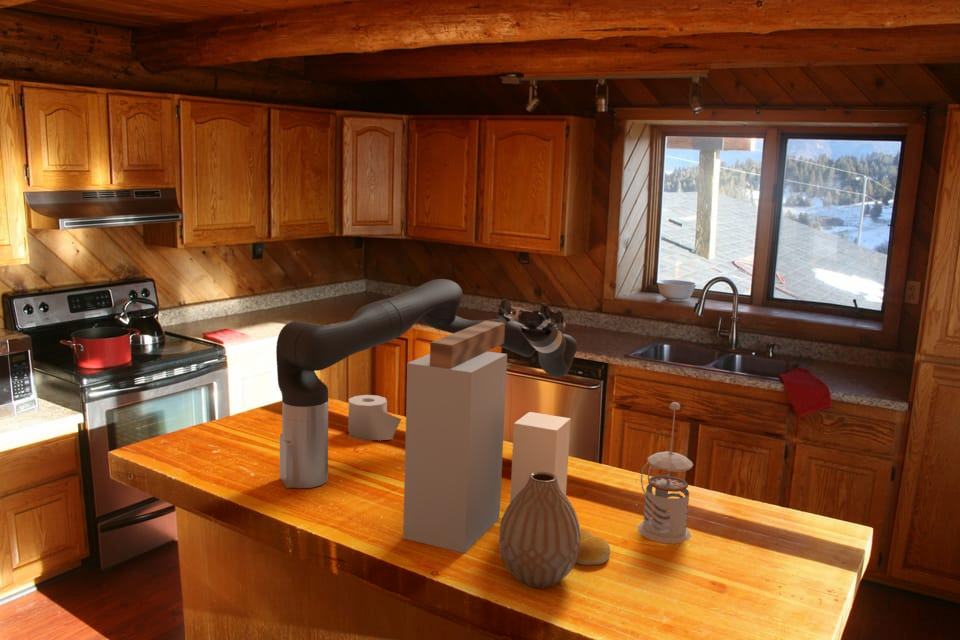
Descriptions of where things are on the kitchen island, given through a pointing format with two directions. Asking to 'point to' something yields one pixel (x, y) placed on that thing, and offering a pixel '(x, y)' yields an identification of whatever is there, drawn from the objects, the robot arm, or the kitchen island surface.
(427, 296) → the robot arm
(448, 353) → the walnut bar
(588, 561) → the bread roll
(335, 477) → the kitchen island surface
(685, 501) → the french press
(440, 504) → the tall white pillar
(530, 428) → the post
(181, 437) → the kitchen island surface
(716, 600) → the kitchen island surface
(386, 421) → the toilet tissue
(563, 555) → the vase
